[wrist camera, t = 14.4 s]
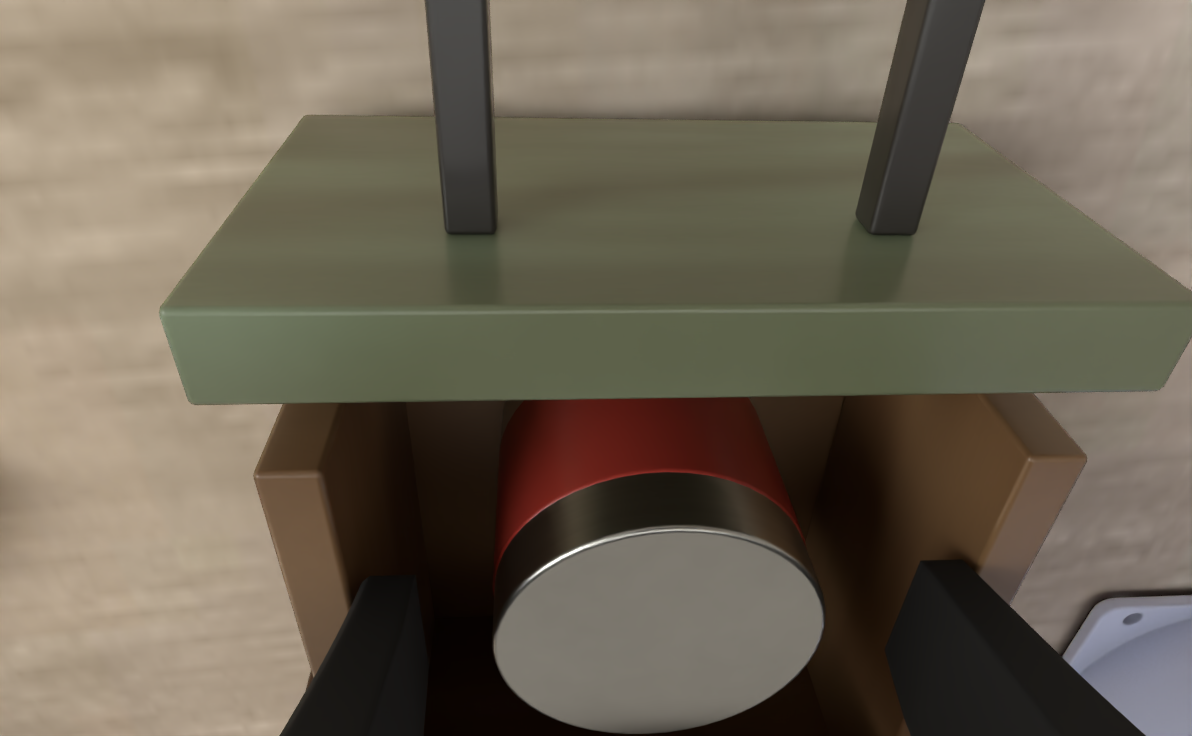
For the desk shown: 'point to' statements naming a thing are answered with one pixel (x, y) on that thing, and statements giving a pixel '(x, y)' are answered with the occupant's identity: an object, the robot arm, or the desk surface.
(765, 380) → the drawer
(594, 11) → the desk surface
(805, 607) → the can
